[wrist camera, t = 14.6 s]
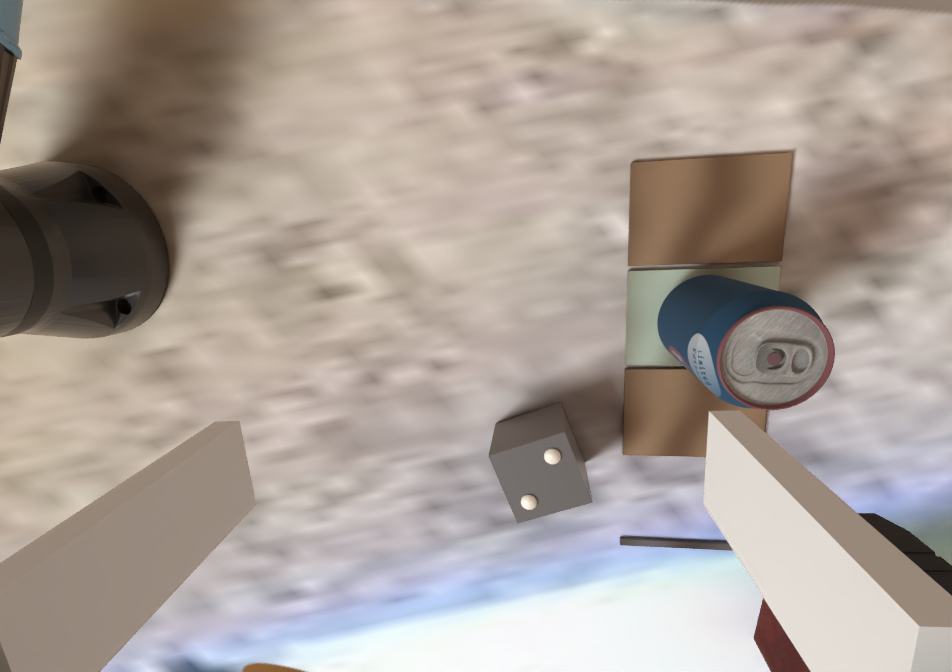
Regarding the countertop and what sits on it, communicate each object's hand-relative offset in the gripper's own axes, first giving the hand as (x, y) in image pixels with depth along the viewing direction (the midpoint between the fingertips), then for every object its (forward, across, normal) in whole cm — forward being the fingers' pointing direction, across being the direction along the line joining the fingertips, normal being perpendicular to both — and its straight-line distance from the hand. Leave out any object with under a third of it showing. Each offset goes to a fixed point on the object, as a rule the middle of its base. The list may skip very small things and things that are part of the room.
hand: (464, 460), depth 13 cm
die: (+26, +3, -13) cm, 29 cm away
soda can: (+25, +15, -2) cm, 30 cm away
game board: (+25, +15, -6) cm, 30 cm away
